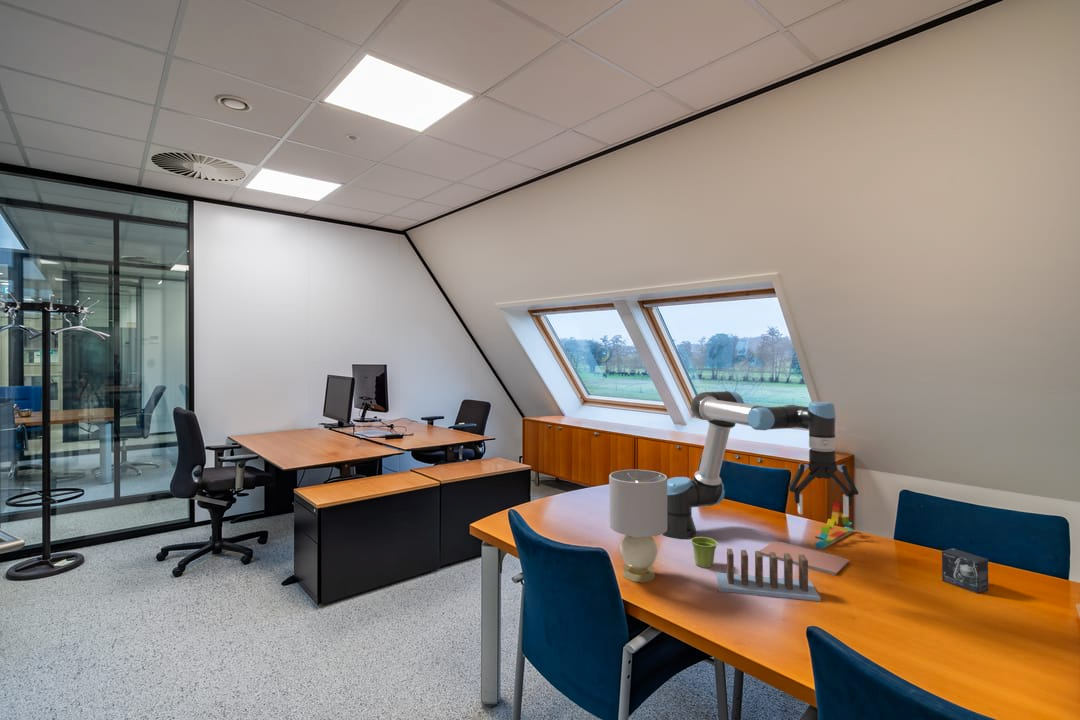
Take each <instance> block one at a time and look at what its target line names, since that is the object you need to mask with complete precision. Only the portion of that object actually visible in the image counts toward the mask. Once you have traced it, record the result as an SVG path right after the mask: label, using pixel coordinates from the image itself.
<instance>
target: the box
mask: <svg viewBox="0 0 1080 720" xmlns="http://www.w3.org/2000/svg"><path fill="white" fill-rule="evenodd" d="M941 581H942V582H944V583H947V584H950V585H952V586H956V587H958V588H961V589H964V590H966V591H969V592H972V593H975V594H981V593H984V592H987V591H989V589H990V588H989V559H988V558H986V557H982V556H979V555H975V554H973V553H971V552H966V551H963V550H960V549H956V548H949V549H944V550H942V551H941Z"/></svg>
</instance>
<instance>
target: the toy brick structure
mask: <svg viewBox="0 0 1080 720" xmlns="http://www.w3.org/2000/svg"><path fill="white" fill-rule="evenodd" d="M832 504H833V505H832V510H831V518H828V519H827V521H826V524H822V527H821V532H820V535H819V536H817V535H814V537H815V538H816V539H818V541H816V542H814V548H816V549H820V550H824V549H826V548H828V547H830V546H831V545H833V544H834V543H837V542H839V541H840V540H842V539H844V538H845V537H847V536H849V535H851V534H852V533H853V532H854V528H853V527H850V526H851V525H852V524H853V522H850V520H849V517H846V516H845V515H843V512H842V511H843V510H842V507H841V503H838V502H834V501H833V503H832ZM839 518H841V521H842V524H843V525H845V526H844V527H843V528H844V529H842V528H840V529H839V530H837V531H835V532H833V533H831V534H829V532H830V530H833V529H834V526H835V525H836V526H837V525H838V524H839ZM845 529H848V530H852V531H848V530H845Z"/></svg>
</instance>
